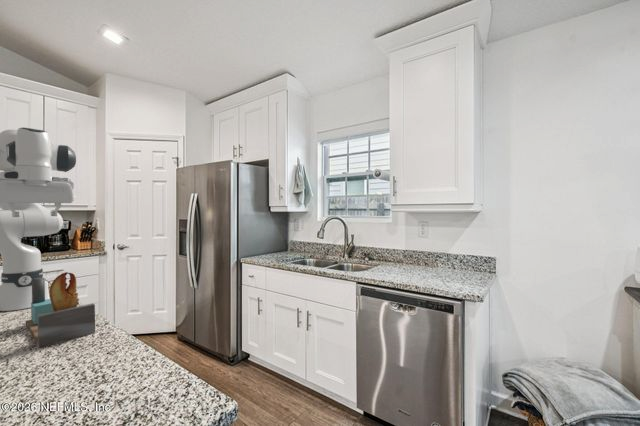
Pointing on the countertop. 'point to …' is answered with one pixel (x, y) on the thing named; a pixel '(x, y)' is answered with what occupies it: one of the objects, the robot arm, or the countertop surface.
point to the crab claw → (63, 292)
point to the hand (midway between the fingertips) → (35, 216)
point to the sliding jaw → (39, 300)
